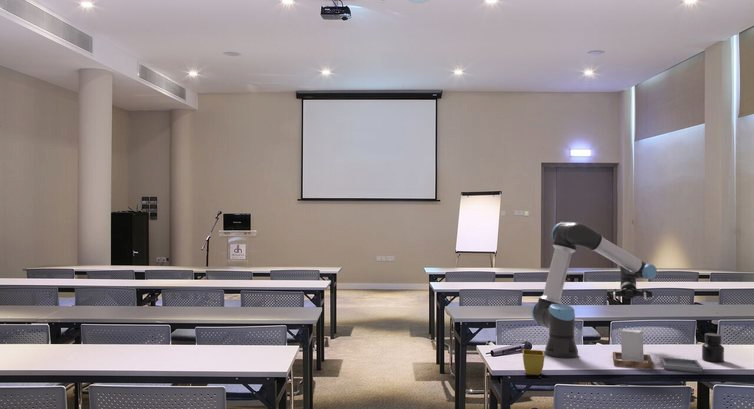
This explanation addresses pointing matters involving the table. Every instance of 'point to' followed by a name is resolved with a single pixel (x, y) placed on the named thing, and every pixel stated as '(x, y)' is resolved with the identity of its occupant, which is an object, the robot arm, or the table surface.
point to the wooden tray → (632, 363)
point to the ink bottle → (713, 348)
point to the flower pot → (533, 361)
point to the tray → (681, 365)
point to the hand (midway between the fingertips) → (629, 296)
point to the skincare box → (632, 345)
